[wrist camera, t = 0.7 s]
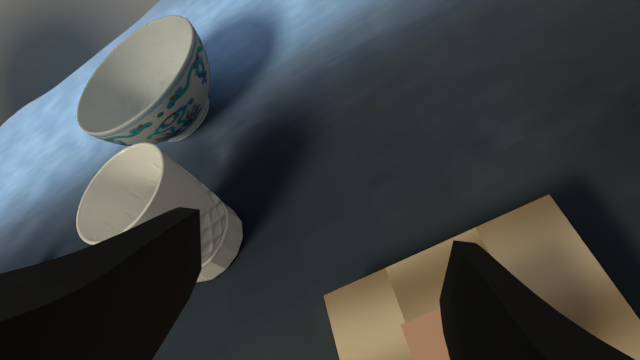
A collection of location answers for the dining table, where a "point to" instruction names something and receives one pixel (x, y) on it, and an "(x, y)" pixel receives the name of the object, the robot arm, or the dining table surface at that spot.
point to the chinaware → (149, 86)
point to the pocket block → (511, 252)
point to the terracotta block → (426, 337)
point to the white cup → (156, 204)
